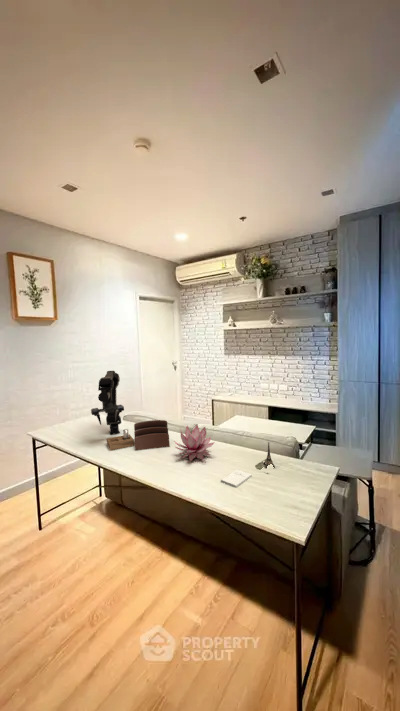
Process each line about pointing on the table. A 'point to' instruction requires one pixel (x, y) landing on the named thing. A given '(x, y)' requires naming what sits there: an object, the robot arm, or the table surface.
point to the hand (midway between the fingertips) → (108, 423)
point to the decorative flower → (195, 443)
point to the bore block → (120, 442)
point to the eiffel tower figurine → (267, 461)
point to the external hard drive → (236, 478)
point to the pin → (125, 434)
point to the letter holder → (151, 435)
